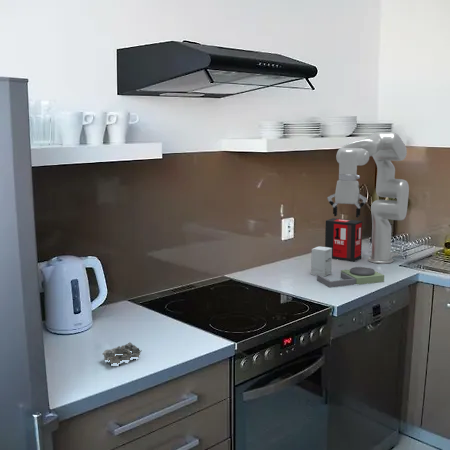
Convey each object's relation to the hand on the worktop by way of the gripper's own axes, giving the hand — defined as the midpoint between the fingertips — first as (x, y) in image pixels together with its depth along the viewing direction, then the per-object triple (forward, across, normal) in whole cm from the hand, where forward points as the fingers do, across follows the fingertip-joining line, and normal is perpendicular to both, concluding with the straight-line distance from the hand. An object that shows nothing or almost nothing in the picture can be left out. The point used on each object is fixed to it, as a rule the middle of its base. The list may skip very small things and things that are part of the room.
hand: (346, 216), depth 246 cm
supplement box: (+30, +12, -8) cm, 33 cm away
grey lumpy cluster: (+31, +48, +109) cm, 123 cm away
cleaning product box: (+30, +9, -42) cm, 52 cm away
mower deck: (+30, -2, -1) cm, 30 cm away
